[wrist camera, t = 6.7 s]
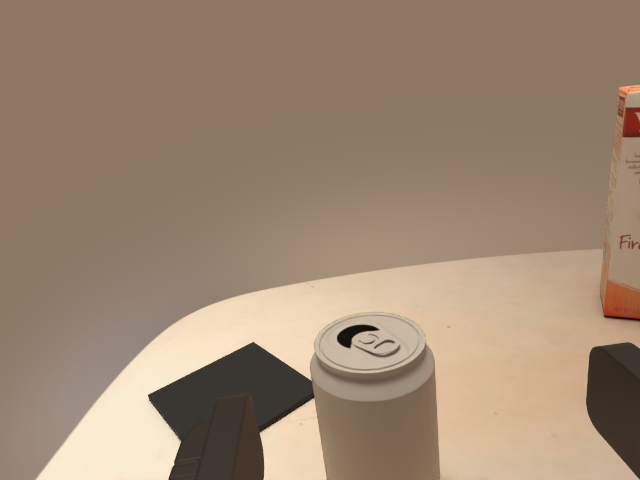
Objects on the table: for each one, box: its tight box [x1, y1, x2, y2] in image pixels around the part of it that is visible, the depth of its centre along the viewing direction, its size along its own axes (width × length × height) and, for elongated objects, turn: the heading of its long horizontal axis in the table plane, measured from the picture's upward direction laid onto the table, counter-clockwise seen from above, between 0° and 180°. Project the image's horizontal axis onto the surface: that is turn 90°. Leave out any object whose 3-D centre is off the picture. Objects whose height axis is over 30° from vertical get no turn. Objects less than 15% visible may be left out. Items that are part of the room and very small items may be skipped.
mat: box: [148, 342, 314, 441], centre depth 39 cm, size 11×11×1 cm
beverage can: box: [310, 312, 440, 480], centre depth 25 cm, size 6×6×12 cm
